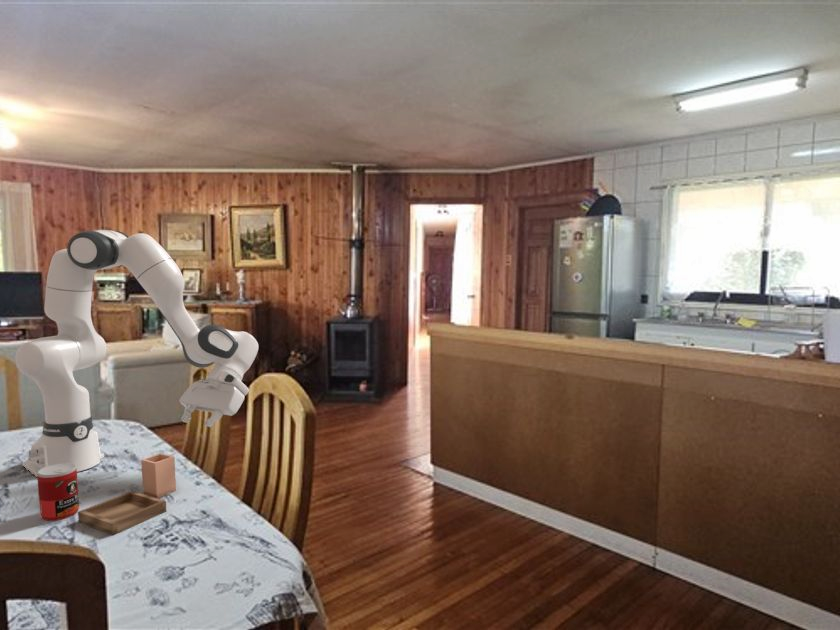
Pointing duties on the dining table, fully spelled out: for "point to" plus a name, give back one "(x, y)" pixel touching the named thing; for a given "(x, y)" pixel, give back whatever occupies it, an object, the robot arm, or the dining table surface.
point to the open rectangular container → (158, 475)
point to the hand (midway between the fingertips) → (195, 423)
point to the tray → (122, 512)
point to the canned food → (58, 491)
